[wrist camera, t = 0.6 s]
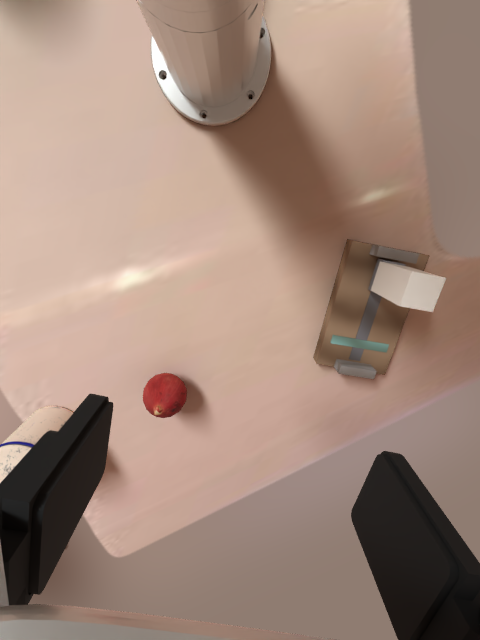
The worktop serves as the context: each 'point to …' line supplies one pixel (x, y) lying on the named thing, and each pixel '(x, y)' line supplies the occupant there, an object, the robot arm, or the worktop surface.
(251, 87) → the robot arm
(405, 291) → the fader
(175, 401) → the onion
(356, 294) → the wooden slider board
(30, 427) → the teacup with lid
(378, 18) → the worktop surface
